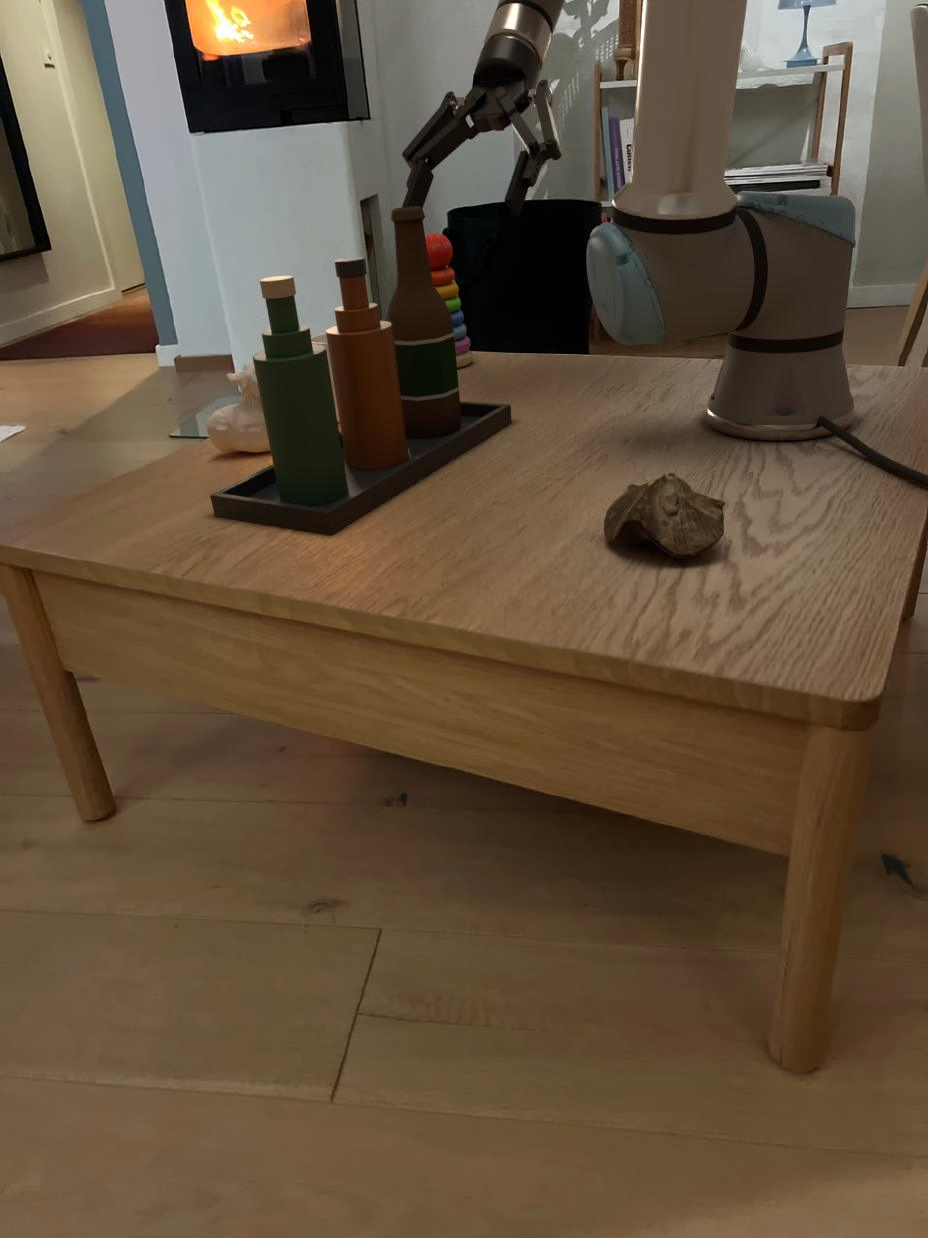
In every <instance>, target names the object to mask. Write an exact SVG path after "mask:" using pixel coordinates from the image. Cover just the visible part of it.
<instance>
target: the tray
mask: <svg viewBox="0 0 928 1238" xmlns="http://www.w3.org/2000/svg"><path fill="white" fill-rule="evenodd" d="M460 407H461V427H460V429H458V430H456V431H454V432H452V433H450V434H449V435H447V436H440V437H432V438H425V439H420V438H412V437H406V443H407V451H408V458H407V459H406V460H405V461H404V462H402V463H400V464H397V465H395V466H391V467H387V468H382V469H373V470H361V469H354V468H351V467H349V466H348V465H347V464H346V460H345V454H344V447H343V441H342V434H341V430H339V435H340V441H341V448H342V454H343V461H344V467H345V473H346V480H347V486H348V491H347V493H346V494H345V495H344V496H343V497H341V498H339V499H337V500H335V501H332V502H329V503H326V504H322V505H316V506H304V505H297V504H290V503H283V502H281V500H280V496H279V491H278V486H277V481H276V476H275V470H274V465H273V463H272V464H270V465H268V466H267V467H263V469H261V470H258V471H256V472H255V473H252V474H250V475H248V476H246V477H244V478H242V479H239V480H237V481H236V482H234V483H232V484H230V485H228V486H225V487H224V488H222V489H219V490H218V491H216V492H213V493H212V494H210V495H209V498H210V501H211V506H212V510H213V515H214V516H215V517H219V518H224V519H232V520H238V521H243V522H249V523H250V522H251V523H256V524H261V525H262V524H263V525H269V526H274V527H281V528H287V529H294V530H299V531H305V532H310V533H318V534H323V535H329V536H332V535H333V534H335V533H337V532H339V531H341V530H342V529H344V528H345V527H347V526H348V525H350V524H352V523H353V522H354V521H356V520H359V518H361V517H363V516H364V515H366V514H367V513H369V512H371V511H372V510H374V509H376V508H377V507H379V506H381V505H382V504H384V503H385V502H387V501H389V500H390V499H391V498H393V497H395V496H396V495H398V494H399V493H401V492H403V491H404V490H406V489H408V488H409V487H411V486H412V485H414V484H416V483H417V482H419V481H420V480H422V479H424V478H425V477H427V476H428V475H430V474H432V473H433V472H435V471H436V470H438V469H440V468H441V467H443V466H445V465H446V464H447V463H449V462H451V461H452V460H454V459H456V458H457V457H458V456H460V455H462V454H464V453H466V451H468V450H470V449H471V448H473V447H475V446H476V445H478V444H479V443H481V442H482V441H485V440H486V439H487V438H489V437H491V436H492V435H494V434H496V433H497V432H498V431H500V430H502V429H504V428H505V427H507V426H508V425H510V424H511V423H512V422H513V420H512V419H513V418H512V405H511V403H510V404H508V403H494V402H479V401H465V400H460Z"/></svg>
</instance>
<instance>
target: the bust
mask: <svg viewBox="0 0 928 1238" xmlns="http://www.w3.org/2000/svg"><path fill="white" fill-rule="evenodd" d="M242 366H243V368H242V369H243V370H242V371H236V372H235V373H230V372H229V373H227V374H226V378H227V380H228V381H229V382H230V383H231V384H236V385H237V386H238V387H239V390H240V398H241V399H240V401H239V402H238V403H237V404H229V405H225V406H224V407H222V408H219V409H217V410H215V411H214V412H213V413H212V414H211V415H210V416H209V417H208V418H207V421H206V432H207V435H208V437H209V439H210V441H211V443H212V444H213V446H214V447H215V448H216V449H217V450H218V451H219V452H223V453H228V452H247V453H257V454H259V453H265V452H267V453H268V452H271V450H270V445H269V440H268V434H267V429H266V424H265V419H264V414H263V409H262V403H261V398H260V393H259V388H258V383H257V378H256V373H255V367H254V362H253V363H250V364H246V363H244V364H242Z"/></svg>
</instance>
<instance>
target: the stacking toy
mask: <svg viewBox="0 0 928 1238" xmlns="http://www.w3.org/2000/svg"><path fill="white" fill-rule="evenodd" d="M425 239H426V245H427V252H428V258H429V265H430V271H431V275H432V279H433V283H434V287H435V288H436V290H437V291H438V292H439V294H440V295H441V296H442V298H443V299H444V300H445V302H446V305H447V307H448V309H449V312H450V314H451V318H452V324H453V330H454V339H455V351H456V362H457V369H459V368H462V367H465V366H467V365H469V364H471V362H472V361H473V357H474V355H473V352H472V351H471V350H470V347H471V344H472V343H471V339H470V338H469V336H467V333H468V332H467V331H468V330H467V326H466V324H464V323H463V322H464V320H465V319H464V318H465V315H464V313H463V311H462V310H461V309H460V308H461V306H462V301H461V298H460V297H459V296H457V295H458V294H459V291H460V290H459V289H460V288H459V286H458V284H457V283H456V282H454V281H455V277H456V273H455V271H454V269H453V268H452V267H450V266H448V265H449V264H450V263H451V261H452V260H453V259H452V258H453V253H454V251H453V250H454V249H453V245H452V243H451V241H450V240H449V238H448V237H447V236H446V235H444V234H442V233H438V232H432V233H431V232H430V233H428V234H425Z"/></svg>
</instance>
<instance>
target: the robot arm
mask: <svg viewBox="0 0 928 1238" xmlns="http://www.w3.org/2000/svg"><path fill="white" fill-rule="evenodd" d="M565 2H566V0H498V2H497V6H496V9H495V11H494V14H493V16H492V18H491V22H490V24H489V28H488V29H487V33H486V35H485V38H484V40H483V43H482V48H481V50H480V52H479V55H478V58H477V61H476V64H475V66H474V69H473V74H472V86H471V89H470V90H469V91H468V93H467V94H466V95H465V96H456V94H455V93H454V91H452V90H451V91H448V92H446V94H445V95H444V97H443V99H442V102H441V104H440V105H439V107H438V108H437V109H436V111H435V112H434V113H433V115H432V116H431V117H430V118H429V120H427V121H426V123H425V124H424V126H423V127H422V128H421V129H420V130H419V132H418V133H417V134H416V135H415V136H414V138H413V139H412V140H411V141H410V142H409V144H408V145H407V146H406V147H405V148H404V150H403V151H402V153H401V157H402V158H403V160H404V162H405V163H406V165H407V166H408V168H409V170H410V172H409V175H408V177H407V180H406V185H405V186H406V188H407V192H406V194H405V197H404V198H403V203H402V205H401V207H410V206H418V207H420V208H422V209H423V208H424V206H425V203H426V200H427V197H428V194H429V191H430V189H431V186H432V183H433V181H434V178H435V175H434V173H433V172H432V171H434V169H436V168H437V167H438V166H439V165H440V164H442V162H443V161H444V160H446V159H447V158H448V157H449V156H450V155H451V154H453V152H455V151H456V150H457V149H458V148H459V147H461V146H462V145H463V144H464V143H465V142H466V141H467V140H474V139H475V138H476V137H477V136H478V135H479V134H480V133H481V134H483V133H484V134H485V133H488V132H492V131H494V132H495V131H496V132H503V131H505V129H506V128H508V127H510V126H511V128H512V129H513V131H514V133H515V134H516V136H517V137H518V138H519V140H520V141H521V143H522V145H523V147H524V148H525V149H526V150H520V152H519V155H518V158H517V160H516V164H515V166H514V170H513V173H512V176H511V179H510V182H509V184H508V187H507V191H506V194H505V195H504V196H505V197H504V199H503V200H504V203H505V204H506V206H507V208H508V210H509V212H510V214H511V215H512V218H519V217H520V216H521V213H522V210H523V206H524V204H525V200H526V198H527V194H528V191H529V189H530V188H534V187H535V185H536V184H537V182H538V178H539V176H540V172H541V169H542V166H544V165H545V164H546V162H547V161H548V160H552V161H558V160H561V158H562V156H563V153H562V148H561V144H560V139H559V135H558V131H557V127H556V122H555V118H554V114H553V108H554V104H555V97H554V94H553V91H552V89H551V87H550V85H549V82H548V80H547V79H541V80H540V81H539V78H540V75H541V71H542V69H543V66H544V63H545V61H546V57H547V54H548V51H549V48H550V45H551V43H552V39H553V35H554V32H555V29H556V27H557V24H558V21H559V19H560V16H561V14H562V10H563V7H564V4H565ZM747 7H748V0H642V7H641V21H640V34H639V35H640V36H639V47H638V48H639V49H638V62H637V64H638V65H637V76H636V77H637V79H636V90H635V103H634V104H635V105H634V117H633V118H634V119H633V133H632V134H633V135H632V146H631V157H630V172H629V173H630V174H629V178H628V180H627V182H626V183H625V184H624V185H623V186H622V187H620V188H619V189H618V191H617V192H616V193H614V195H613V196H612V200H611V201H612V203H611V214H610V215H611V216H610V222H608V221H605V222H602V223H601V224H600V225H596V226H595V227H594V228H593V229H592V231H591V233H590V234H589V237H590V238H589V240H588V241H587V247H586V273H587V281H588V285H589V286H588V287H589V292H590V296H591V299H592V302H593V306H594V308H595V311H596V314H597V317H598V319H599V321H600V323H601V325H602V327H603V329H604V330H605V332H606V333H607V334H608V335H609V336H610V337H611V339H613V340H614V341H615V342H617V343H619V344H621V345H624V346H641V345H650V344H651V345H653V346H660V345H662V344H664V343H669V342H675V341H681V340H687V339H693V338H694V339H695V338H700V337H706V336H713V335H720V334H726V333H727V347H726V354H725V356H724V359H723V360H722V364H721V367H720V370H719V372H718V375H717V378H716V381H715V385H714V388H713V392H712V393H711V394H710V396H709V399H708V402H707V403H708V404H707V407H706V408H707V409H706V410H707V411H706V423H707V424H708V426H710V427H711V428H712V429H714V430H716V431H718V432H720V433H723V434H726V435H730V436H733V437H736V438H737V437H739V438H743V439H751V440H761V441H762V440H763V441H799V440H809V439H815V438H816V439H817V438H821V437H826V436H830V435H834V436H835V437H836V438H838V439H840V440H841V441H843V442H845V443H846V444H847V445H848V446H850V447H851V448H853V449H854V450H855V451H857V452H858V453H860V454H861V455H863V456H864V457H866V459H869V460H870V461H872V462H873V463H876V464H877V465H879V466H881V467H883V468H884V469H887V470H888V471H891V472H893V473H894V474H897V475H899V476H901V477H903V478H906V479H909V480H911V481H913V482H915V483H917V484H919V485H922V486H925V487H927V488H928V474H925V473H923V472H921V471H918V470H915V469H913V468H911V467H908V466H906V465H903V464H902V463H900V462H897V461H896V460H893V459H892V458H890V457H887V456H885V455H884V454H882V453H880V452H878V451H877V450H876V449H873V448H872V447H870V446H868V445H867V444H866V443H864V441H861V440H860V439H859V438H857V437H856V436H854V435H853V434H851V433H850V432H849V431H848V430H845V429H847V428H848V427H850V426H851V424H852V423H853V417H854V409H855V404H854V397H853V395H852V393H851V388H850V381H849V377H848V370H847V366H846V361H845V357H844V352H843V343H844V334H845V333H844V332H845V325H846V317H847V309H848V308H847V307H848V297H849V291H850V279H851V272H852V261H853V252H854V248H856V245H857V241H856V216H857V215H856V213H857V212H856V207H855V205H854V203H853V202H852V201H851V200H850V199H849V198H847V196H846V197H845V196H841V195H830V194H816V193H815V194H814V193H813V194H812V193H796V192H795V193H794V192H775V191H774V192H772V191H771V192H770V191H743V190H741V191H738V192H737V194H736V193H735V192H734V191H733V190H732V189H731V187H730V186H729V185H728V183H727V182H726V181H725V180H726V179H725V174H726V165H727V158H728V150H729V144H730V136H731V129H732V120H733V114H734V105H735V98H736V92H737V91H736V90H737V84H738V76H739V67H740V61H741V52H742V45H743V38H744V31H745V22H746V14H747ZM532 104H533V106H534V108H535V109H536V110H537V111H536V112H537V114H538V119H539V123H540V128H541V132H542V137H543V142H540V143H539V142H538V139H537V137H535V135H534V134H533V132H532V131H531V129H530V128H529V126H528V124H527V123H526V122H525V120H524V118H523V117H522V115H523V114H524V113H525V112H526V110H528V108H529V107H530V106H531V105H532ZM468 116H469V118H470V122H471V123H472V126H470V125H469V123H468V121H467V117H468ZM423 210H424V209H423Z"/></svg>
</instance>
